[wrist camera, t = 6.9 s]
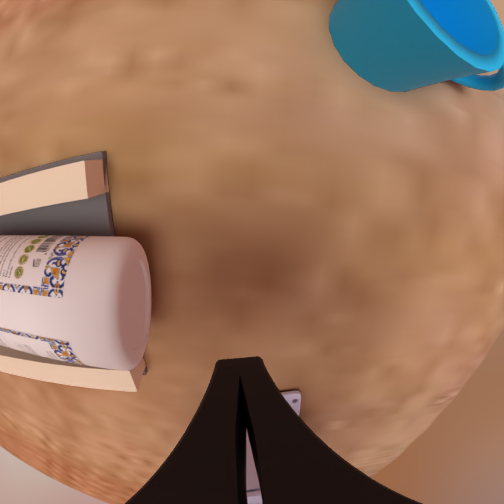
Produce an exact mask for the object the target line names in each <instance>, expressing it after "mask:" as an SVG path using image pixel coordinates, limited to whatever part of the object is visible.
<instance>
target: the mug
mask: <svg viewBox="0 0 504 504" xmlns="http://www.w3.org/2000/svg"><path fill="white" fill-rule="evenodd" d="M329 30H330V33H331V37H332V40H333V43H334V46H335V47H336V49H337V50H338V52H339V53H340V55H341V57H342V58H343V60H344V61H345V62H346V63H347V64H348V65H349V66H350V67H351V68H352V69H353V70H354V71H355V72H356V73H357V74H358V75H359V76H360V77H362V78H363V79H365V80H367V81H368V82H370V83H371V84H373V85H374V86H377V87H380V88H383V89H385V90H388V91H398V92H406V91H409V90H413V89H416V88H420V87H424V86H428V85H431V84H435V83H439V82H443V81H448V80H451V81H453V82H456V83H459V84H461V85H464V86H467V87H470V88H474V89H479V90H489V91H495V90H498V89H501V88H503V87H504V30H503V27H502V24H501V22H500V19H499V17H498V15H497V12H496V10H495V8H494V7H493V5H492V3H491V2H490V1H489V0H338V2H337V3H336V4H335V6H334V8H333V10H332V11H331V13H330V20H329ZM497 69H499V70H498V72H497V73H495V74H493V75H490V76H480V75H476V74H481V73H486V72H491V71H494V70H497Z"/></svg>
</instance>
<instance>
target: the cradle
mask: <svg viewBox="0 0 504 504" xmlns="http://www.w3.org/2000/svg"><path fill="white" fill-rule="evenodd" d="M0 235H56V236H112V237H115V233H114V226H113V219H112V212H111V204H110V195H109V186H108V175H107V162H106V152H105V151H102V152H97V153H92V154H87V155H82V156H78V157H74V158H69V159H65V160H61V161H57V162H53V163H49V164H46V165H42V166H38V167H35V168H32V169H28V170H25V171H22V172H18V173H15V174H12V175H9V176H6V177H3V178H0ZM0 371H2V372H6V373H10V374H14V375H18V376H22V377H27V378H32V379H36V380H42V381H47V382H53V383H59V384H65V385H72V386H79V387H87V388H95V389H105V390H117V391H131V392H138V389H139V385H140V382H141V379H142V376H143V375H146V373H147V368H146V364H145V361H144V358H143V357H142V358H141V360H140V362H139V363H138V365H137V366H136V367H135V368H133V369H131V370H127V371H122V370H113V369H106V368H100V367H93V366H86V365H80V364H75V363H70V362H65V361H60V360H55V359H51V358H47V357H42V356H38V355H34V354H30V353H26V352H23V351H19V350H15V349H12V348H9V347H5V346H2V345H0Z"/></svg>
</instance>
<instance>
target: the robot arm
mask: <svg viewBox="0 0 504 504" xmlns="http://www.w3.org/2000/svg"><path fill="white" fill-rule="evenodd" d="M294 399H296V400H294ZM300 404H301V393H300V392H299V391H288V392H280V391H279V389H278V388H277V386H276V385H275V383H274V382H273V380H272V378H271V377H270V375H269V373H268V371H267V369H266V367H265V365H264V363H263V360H262V359H261V358H260V357H259V356H258V357H247V358H236V359H223V360H218V361H217V362H216V365H215V369H214V372H213V375H212V378H211V381H210V383H209V386H208V388H207V391H206V393H205V395H204V397H203V399H202V401H201V403H200V406H199V408H198V410H197V412H196V414H195V415H194V417H193V419H192V421H191V422H190V424H189V426H188V428H187V429H186V431H185V433H184V434H183V436H182V438H181V439H180V441H179V442H178V444H177V445H176V447H175V448H174V450H173V451H172V452H171V454H170V455H169V456H168V458H167V459H166V460H165V462H164V463H163V464H162V465H161V467H160V468H159V469H158V470H157V471H156V473H155V474H154V475H153V476H152V477H151V478H150V479H149V481H148V482H147V483H146V484H145V485H144V486H143V487H142V488H141V489H140V490H139V491H138V492H137V493H136V494H135V495H134V496H133V497H131V498H130V499H129V500H128V501H127V502H126V503H125V504H422V503H419V502H417V501H414V500H412V499H410V498H407V497H405V496H403V495H401V494H399V493H397V492H395V491H393V490H391V489H389V488H387V487H385V486H383V485H381V484H380V483H378V482H376V481H375V480H373V479H371V478H370V477H368V476H367V475H365V474H364V473H362V472H361V471H360V470H358V469H357V468H355V467H354V466H352V465H351V464H349V463H348V462H347V461H345V460H344V459H343V458H341V457H340V456H339V455H338V454H337V453H335V452H334V451H333V450H332V449H331V448H330V447H328V446H327V445H326V444H325V443H324V442H323V441H322V440H321V439H320V438H319V437H318V436H317V435H316V434H315V433H314V432H313V431H312V430H311V429H310V428H309V427H308V426H307V425H306V424H305V423H304V422H303V420H302V419H301V418H300V417H299V414H300Z"/></svg>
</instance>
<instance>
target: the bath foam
mask: <svg viewBox="0 0 504 504" xmlns="http://www.w3.org/2000/svg"><path fill="white" fill-rule="evenodd" d="M150 321H151V279H150V271H149V265H148V261H147V257H146V254H145V252H144V249H143V248H142V246H141V245H140V243H139V242H138V241H136V240H135V239H133V238H130V237H112V236H56V235H0V345H2V346H5V347H9V348H12V349H15V350H19V351H23V352H26V353H30V354H34V355H38V356H42V357H47V358H51V359H55V360H60V361H65V362H70V363H75V364H80V365H86V366H93V367H100V368H106V369H113V370H122V371H127V370H131V369H133V368H135V367H136V366H137V365H138V363H139V362H140V360H141V358H142V357H143V355H144V352H145V349H146V346H147V342H148V336H149V330H150Z"/></svg>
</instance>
